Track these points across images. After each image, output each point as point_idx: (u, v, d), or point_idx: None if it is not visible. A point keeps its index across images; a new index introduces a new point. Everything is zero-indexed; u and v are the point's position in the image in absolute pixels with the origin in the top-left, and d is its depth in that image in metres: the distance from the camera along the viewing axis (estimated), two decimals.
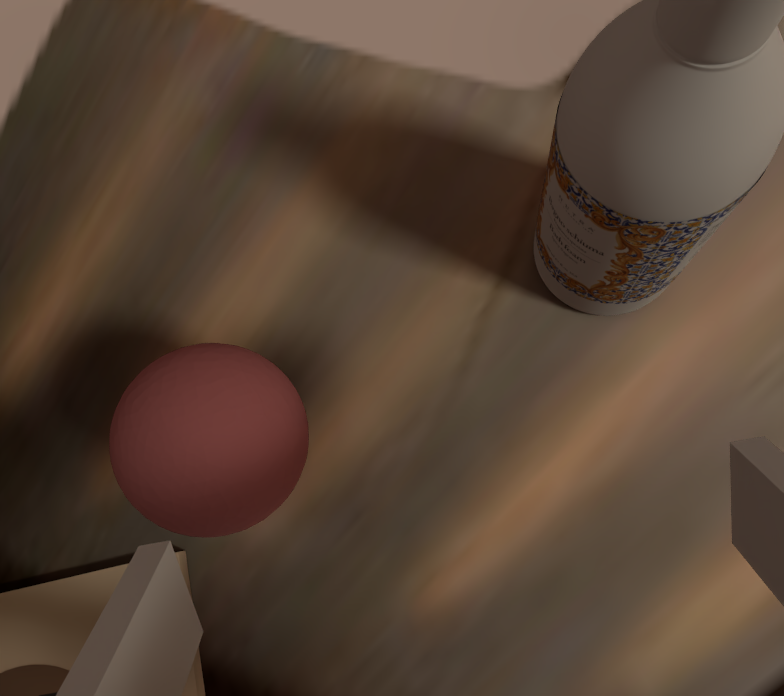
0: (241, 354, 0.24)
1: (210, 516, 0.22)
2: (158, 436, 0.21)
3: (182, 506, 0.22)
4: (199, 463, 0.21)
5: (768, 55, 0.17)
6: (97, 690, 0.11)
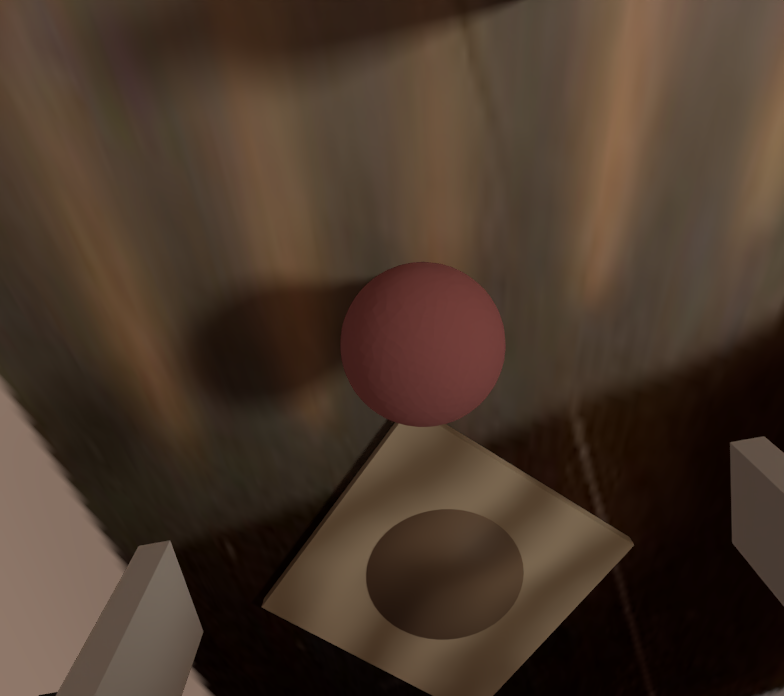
0: (405, 284, 0.26)
1: (486, 392, 0.27)
2: (425, 385, 0.26)
3: (469, 403, 0.27)
4: (464, 375, 0.26)
5: None
6: (97, 690, 0.11)
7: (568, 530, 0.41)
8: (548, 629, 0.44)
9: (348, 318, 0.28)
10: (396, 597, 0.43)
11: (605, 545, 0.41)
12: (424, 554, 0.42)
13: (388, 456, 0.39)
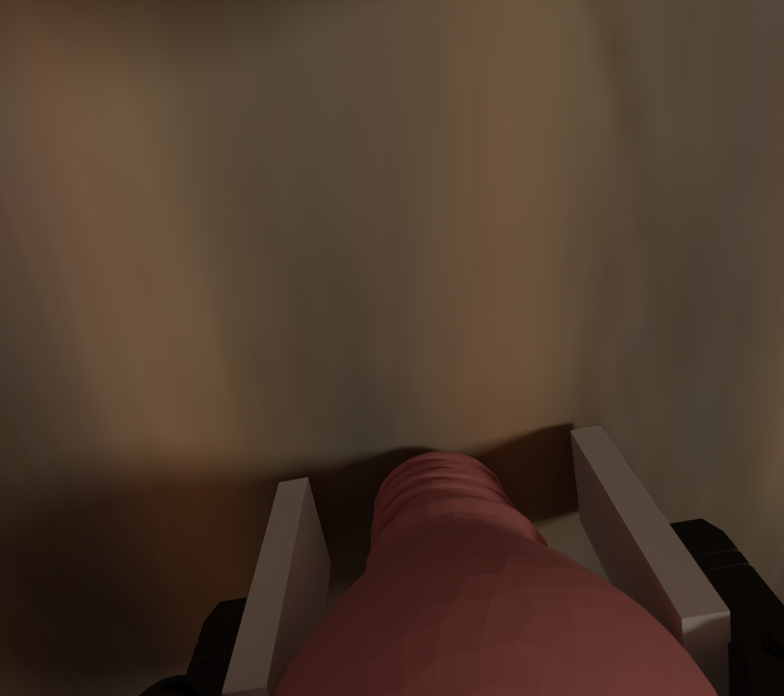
0: None
1: None
2: None
3: None
4: None
5: None
6: (285, 590, 0.13)
7: None
8: None
9: None
10: None
11: None
12: None
13: None
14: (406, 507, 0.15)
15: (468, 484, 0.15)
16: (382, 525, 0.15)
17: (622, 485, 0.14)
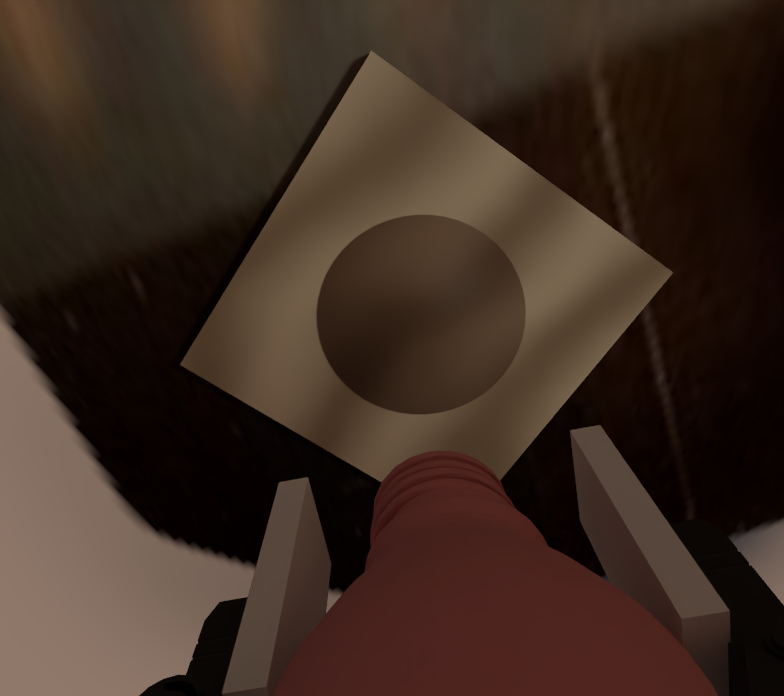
0: None
1: None
2: None
3: None
4: None
5: None
6: (285, 590, 0.13)
7: (585, 249, 0.31)
8: (557, 400, 0.33)
9: None
10: (357, 350, 0.32)
11: (634, 272, 0.31)
12: (393, 286, 0.31)
13: (342, 130, 0.29)
14: (406, 507, 0.15)
15: (468, 483, 0.15)
16: (382, 524, 0.15)
17: (622, 485, 0.14)
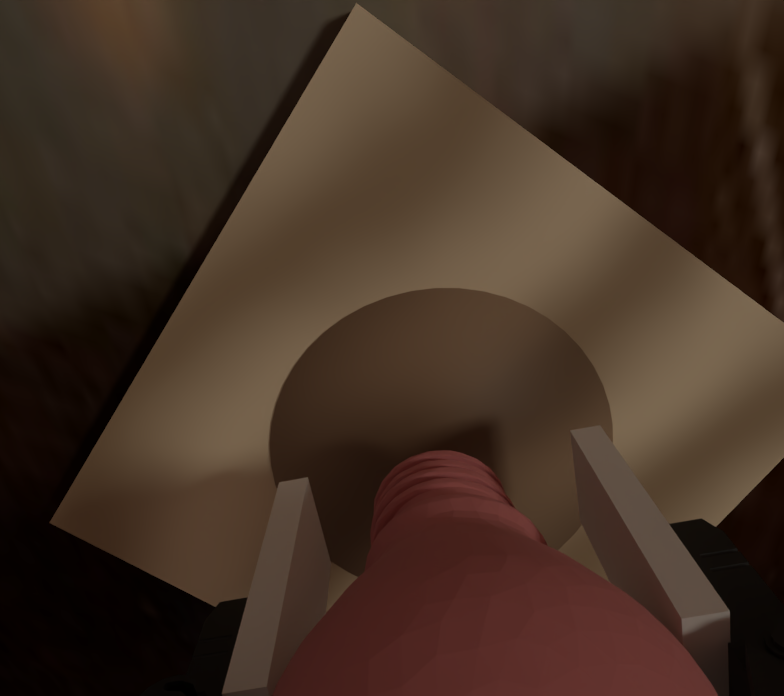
0: None
1: None
2: None
3: None
4: None
5: None
6: (285, 590, 0.13)
7: (717, 342, 0.18)
8: None
9: None
10: (337, 500, 0.20)
11: None
12: (396, 402, 0.19)
13: (306, 145, 0.16)
14: (405, 506, 0.15)
15: (468, 483, 0.15)
16: (382, 524, 0.15)
17: (622, 485, 0.14)
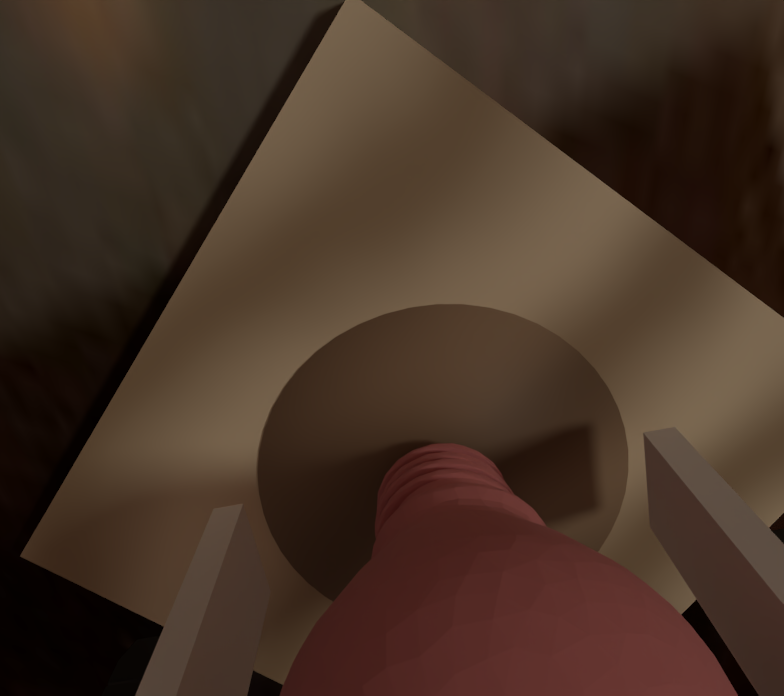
0: None
1: None
2: None
3: None
4: None
5: None
6: (199, 630, 0.12)
7: (742, 362, 0.17)
8: (674, 606, 0.19)
9: None
10: (330, 532, 0.18)
11: None
12: (394, 426, 0.17)
13: (296, 148, 0.15)
14: (410, 497, 0.15)
15: (471, 474, 0.15)
16: (387, 515, 0.15)
17: (712, 491, 0.13)
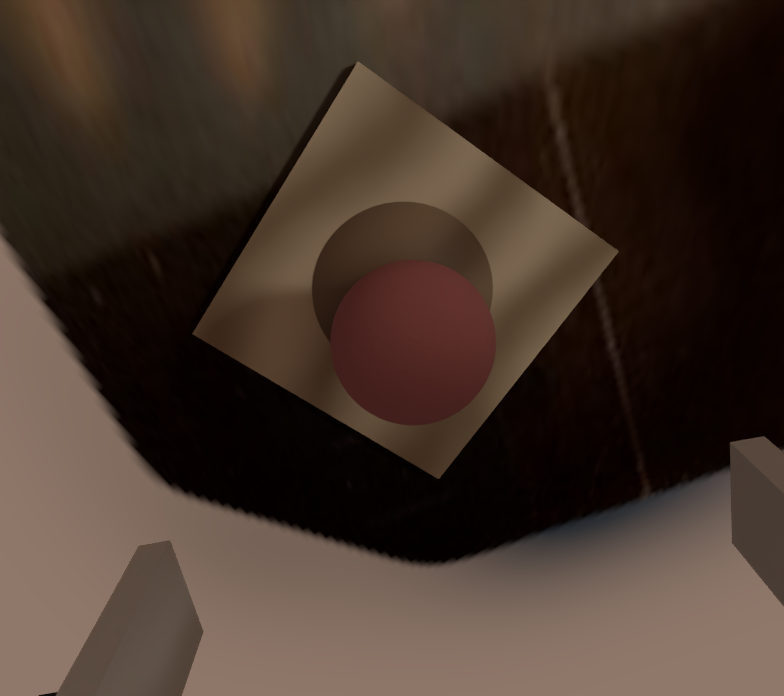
0: (395, 281, 0.26)
1: (477, 390, 0.27)
2: (416, 383, 0.25)
3: (460, 401, 0.27)
4: (455, 373, 0.26)
5: None
6: (97, 690, 0.11)
7: (543, 231, 0.36)
8: (522, 363, 0.38)
9: (338, 316, 0.27)
10: None
11: (586, 251, 0.36)
12: (378, 264, 0.36)
13: (333, 128, 0.34)
14: None
15: None
16: None
17: None
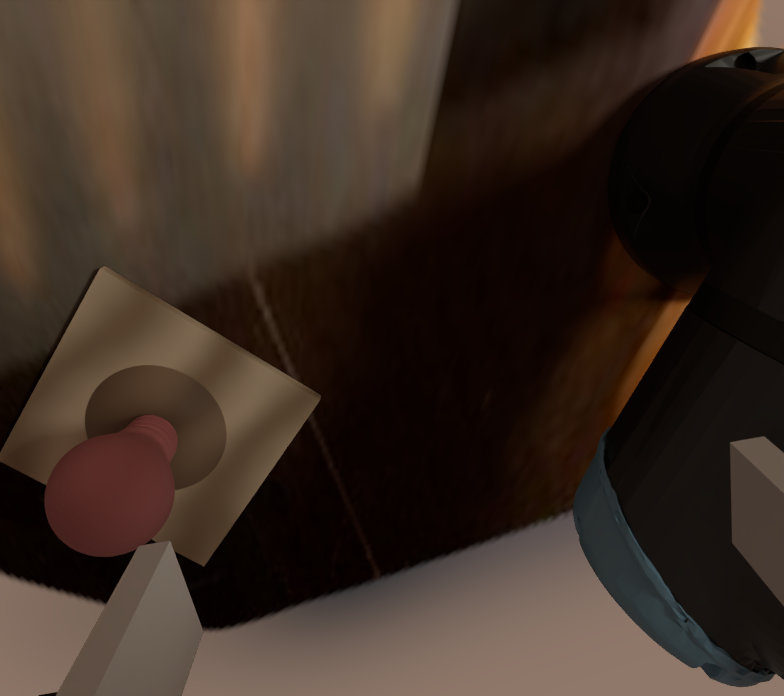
0: (78, 461, 0.37)
1: (147, 533, 0.38)
2: (86, 536, 0.36)
3: (131, 543, 0.38)
4: (116, 528, 0.36)
5: None
6: (97, 690, 0.11)
7: (258, 385, 0.46)
8: (257, 481, 0.49)
9: (48, 480, 0.38)
10: None
11: (294, 400, 0.47)
12: (135, 409, 0.47)
13: (87, 314, 0.44)
14: None
15: (148, 424, 0.45)
16: None
17: None
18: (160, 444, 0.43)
